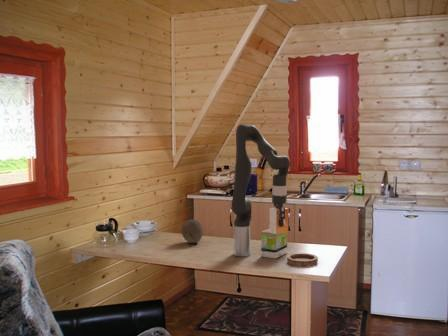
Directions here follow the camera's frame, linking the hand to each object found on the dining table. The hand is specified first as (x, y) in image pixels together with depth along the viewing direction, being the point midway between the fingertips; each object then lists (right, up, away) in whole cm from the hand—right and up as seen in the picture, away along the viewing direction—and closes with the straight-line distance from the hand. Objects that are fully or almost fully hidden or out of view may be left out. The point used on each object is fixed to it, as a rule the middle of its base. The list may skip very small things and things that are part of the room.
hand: (279, 224), depth 259 cm
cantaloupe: (-49, -19, +57) cm, 78 cm away
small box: (0, -4, 0) cm, 4 cm away
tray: (+14, -21, +9) cm, 27 cm away
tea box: (0, -21, +25) cm, 33 cm away
